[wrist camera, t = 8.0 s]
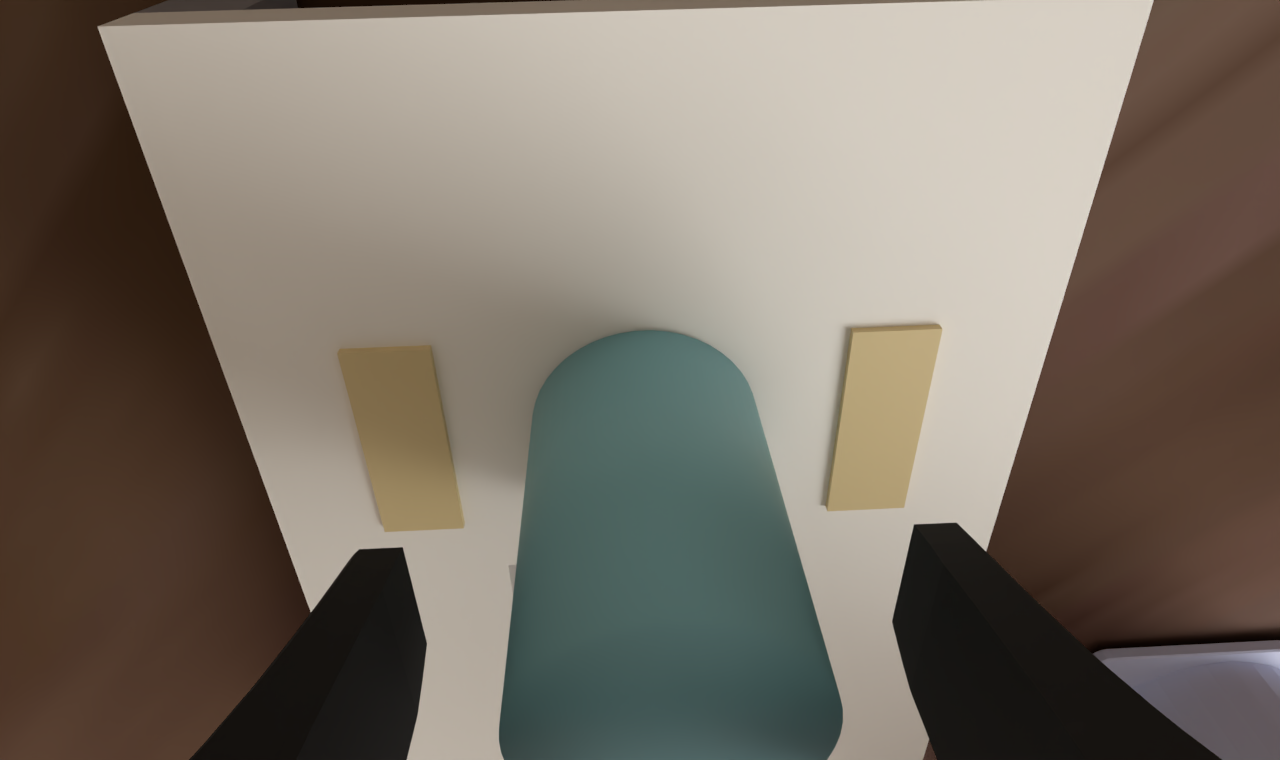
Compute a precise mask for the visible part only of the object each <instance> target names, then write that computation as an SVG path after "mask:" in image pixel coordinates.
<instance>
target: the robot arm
mask: <svg viewBox="0 0 1280 760" xmlns="http://www.w3.org/2000/svg"><path fill="white" fill-rule="evenodd" d="M892 624H893V628H894V632H895V636H896V640H897V644H898V648H899V651H900V655H901V659H902V663H903V666H904V670H905V674H906V677H907V681H908V684H909V688H910V691H911V694H912V696H913V699H914V702H915V704H916V707H917V709H918V712H919V714H920V717H921V720H922V722H923V725H924V727H925V730H926V732H927V735H928V737H929V740H930V742H931V745H932V747H933V750H934V752H935V755H936V757H937V760H1280V640H1268V641H1249V642H1230V643H1211V644H1191V645H1172V646H1153V647H1133V648H1114V649H1103V650H1099V651H1097V652H1095V653H1093V654H1092V653H1091V652H1090V651H1089V650H1088V649H1087V648H1086V647H1084V646H1083V645H1082V644H1081V643H1080V642H1079V641H1078V640H1077V639H1076V638H1075V637H1074V636H1073V635H1072V634H1070V633H1069V632H1068V631H1067V630H1066V629H1065V628H1064V627H1063V626H1062V625H1061V624H1060V623H1059V622H1058V621H1057V620H1055V619H1054V618H1053V617H1052V616H1051V615H1050V614H1049V613H1048V612H1047V611H1046V610H1045V609H1044V608H1043V607H1042V606H1041V605H1040V604H1039V603H1038V602H1037V601H1036V600H1035V599H1033V598H1032V597H1031V596H1030V595H1029V594H1028V593H1027V592H1026V591H1025V590H1024V589H1023V588H1022V587H1021V586H1020V585H1019V584H1018V583H1017V582H1016V581H1015V580H1014V579H1013V578H1012V577H1011V576H1010V575H1009V574H1008V573H1007V572H1006V571H1005V570H1004V569H1003V568H1002V567H1001V566H1000V565H999V564H998V563H997V562H996V561H995V560H994V559H993V558H992V557H991V556H990V555H989V554H988V553H987V552H986V551H985V550H984V549H983V548H982V547H981V546H980V545H979V544H978V543H977V542H976V541H975V540H974V539H973V538H972V537H971V536H970V535H969V534H968V533H967V532H966V531H965V530H964V529H963V528H962V527H961V526H960V525H959V524H958V523H935V524H914V526H913V531H912V535H911V540H910V544H909V548H908V553H907V557H906V562H905V566H904V570H903V575H902V579H901V584H900V588H899V593H898V597H897V601H896V606H895V610H894V615H893V619H892ZM426 648H427V641H426V637H425V633H424V630H423V626H422V622H421V618H420V614H419V610H418V606H417V602H416V598H415V594H414V590H413V586H412V582H411V578H410V574H409V570H408V566H407V562H406V558H405V554H404V550H403V547H397V548H375V549H359V550H358V551H357V552H356V553H355V554H354V555H353V556H352V557H351V558H350V560H349V561H348V563H347V564H346V565H345V567H344V568H343V569H342V571H341V572H340V574H339V575H338V576H337V578H336V579H335V580H334V582H333V583H332V585H331V586H330V587H329V589H328V590H327V592H326V593H325V594H324V596H323V597H322V598H321V600H320V601H319V602H318V604H317V605H316V606H315V608H314V609H313V610H312V612H311V613H310V614H309V616H308V617H307V618H306V620H305V621H304V622H303V624H302V625H301V626H300V628H299V629H298V630H297V632H296V633H295V634H294V636H293V637H292V638H291V639H290V641H289V642H288V643H287V645H286V646H285V647H284V648H283V650H282V651H281V652H280V653H279V655H278V656H277V657H276V658H275V660H274V661H273V662H272V663H271V665H270V666H269V667H268V669H267V670H266V671H265V672H264V674H263V675H262V676H261V677H260V679H259V680H258V681H257V682H256V684H255V685H254V686H253V687H252V688H251V690H250V691H249V692H248V693H247V694H246V696H245V697H244V698H243V699H242V700H241V701H240V703H239V704H238V705H237V706H236V707H235V708H234V709H233V711H232V712H231V713H230V714H229V715H228V716H227V718H226V719H225V720H224V721H223V722H222V723H221V725H220V726H219V727H218V728H217V729H216V730H215V731H214V733H213V734H212V735H211V736H210V737H209V738H208V740H207V741H206V742H205V743H204V744H203V745H202V746H201V747H200V749H199V750H198V751H197V752H196V753H195V754H194V755H193V756H192V757H191V758H190V759H189V760H407V756H408V752H409V748H410V744H411V740H412V736H413V732H414V728H415V724H416V720H417V715H418V709H419V702H420V695H421V688H422V681H423V673H424V665H425V656H426Z"/></svg>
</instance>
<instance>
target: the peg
mask: <svg viewBox="0 0 1280 760" xmlns="http://www.w3.org/2000/svg"><path fill="white" fill-rule="evenodd" d="M842 724H843V707H842V703H841V698H840V694H839V691H838V687H837V684H836V681H835V677H834V674H833V670H832V667H831V663H830V660H829V656H828V653H827V649H826V646H825V642H824V639H823V635H822V632H821V628H820V625H819V622H818V618H817V615H816V611H815V608H814V604H813V601H812V597H811V594H810V590H809V587H808V583H807V580H806V576H805V573H804V570H803V566H802V563H801V559H800V556H799V552H798V549H797V545H796V542H795V538H794V535H793V531H792V528H791V524H790V521H789V517H788V514H787V511H786V507H785V504H784V500H783V497H782V493H781V490H780V486H779V483H778V479H777V476H776V472H775V469H774V465H773V462H772V458H771V455H770V452H769V448H768V445H767V441H766V438H765V434H764V431H763V427H762V424H761V420H760V417H759V413H758V410H757V406H756V403H755V399H754V396H753V393H752V391H751V388H750V386H749V384H748V382H747V380H746V379H745V377H744V375H743V374H742V372H741V371H740V370H739V369H738V368H737V366H736V365H735V364H734V363H733V362H732V361H731V360H730V359H729V358H727V357H726V356H725V355H724V354H723V353H721V352H720V351H718V350H717V349H715V348H713V347H712V346H710V345H708V344H706V343H704V342H702V341H700V340H698V339H695V338H692V337H689V336H686V335H683V334H678V333H672V332H667V331H655V330H645V331H631V332H625V333H619V334H615V335H611V336H608V337H604V338H602V339H599V340H597V341H594V342H592V343H590V344H588V345H586V346H584V347H582V348H580V349H579V350H577V351H575V352H574V353H573V354H571V355H570V356H569V357H567V358H566V359H565V360H564V361H562V362H561V363H560V364H559V365H558V366H557V367H556V368H555V369H554V370H553V372H552V373H551V374H550V375H549V377H548V378H547V379H546V381H545V383H544V384H543V386H542V388H541V389H540V391H539V394H538V397H537V399H536V402H535V406H534V410H533V415H532V425H531V434H530V443H529V452H528V462H527V471H526V480H525V490H524V499H523V508H522V518H521V527H520V536H519V546H518V555H517V564H516V574H515V583H514V592H513V601H512V611H511V620H510V629H509V639H508V648H507V657H506V667H505V676H504V685H503V695H502V704H501V713H500V723H499V744H500V749H501V754H502V756H503V758H504V760H827V759H828V758H829V756H830V755H831V753H832V751H833V750H834V748H835V746H836V744H837V742H838V739H839V737H840V734H841V729H842Z"/></svg>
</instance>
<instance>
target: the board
mask: <svg viewBox="0 0 1280 760" xmlns="http://www.w3.org/2000/svg"><path fill="white" fill-rule="evenodd" d="M1153 1H1154V0H565V1H530V2H496V3H461V4H427V5H393V6H358V7H324V8H298V5H297V1H296V0H168V1H165V2H162V3H160V4H157V5H154V6H151V7H149V8H146V9H143V10H141V11H138V12H135V13H133V14H130V15H127V16H124V17H122V18H119V19H116V20H114V21H111V22H108V23H106V24H103V25H100V26H97V27H98V30H99V33H100V35H101V38H102V41H103V44H104V46H105V49H106V52H107V55H108V57H109V60H110V63H111V66H112V68H113V71H114V74H115V77H116V79H117V82H118V85H119V87H120V90H121V93H122V96H123V98H124V101H125V104H126V107H127V109H128V112H129V115H130V118H131V120H132V123H133V126H134V129H135V131H136V134H137V137H138V140H139V142H140V145H141V148H142V151H143V153H144V156H145V159H146V162H147V164H148V167H149V170H150V173H151V175H152V178H153V181H154V184H155V186H156V189H157V192H158V195H159V197H160V200H161V203H162V205H163V208H164V211H165V214H166V216H167V219H168V222H169V225H170V227H171V230H172V233H173V236H174V238H175V241H176V244H177V247H178V249H179V252H180V255H181V258H182V260H183V263H184V266H185V269H186V271H187V274H188V277H189V280H190V282H191V285H192V288H193V291H194V293H195V296H196V299H197V302H198V304H199V307H200V310H201V313H202V315H203V318H204V321H205V324H206V326H207V329H208V332H209V334H210V337H211V340H212V343H213V345H214V348H215V351H216V354H217V356H218V359H219V362H220V365H221V367H222V370H223V373H224V376H225V378H226V381H227V384H228V387H229V389H230V392H231V395H232V398H233V400H234V403H235V406H236V409H237V411H238V414H239V417H240V420H241V422H242V425H243V428H244V431H245V433H246V436H247V439H248V442H249V444H250V447H251V450H252V452H253V455H254V458H255V461H256V463H257V466H258V469H259V472H260V474H261V477H262V480H263V483H264V485H265V488H266V491H267V494H268V496H269V499H270V502H271V505H272V507H273V510H274V513H275V516H276V518H277V521H278V524H279V527H280V529H281V532H282V535H283V538H284V540H285V543H286V546H287V549H288V551H289V554H290V557H291V560H292V562H293V565H294V568H295V570H296V573H297V576H298V579H299V581H300V584H301V587H302V590H303V592H304V595H305V598H306V601H307V603H308V606H309V609H310V612H312V610H313V609H314V608H315V606H316V605H317V604H318V602H319V601H320V600H321V598H322V597H323V596H324V594H325V593H326V592H327V590H328V589H329V587H330V586H331V585H332V583H333V582H334V580H335V579H336V578H337V576H338V575H339V574H340V572H341V571H342V569H343V568H344V567H345V565H346V564H347V563H348V561H349V560H350V558H351V557H352V556H353V555H354V554H355V553H356V552H357V551H358V550H359V549H375V548H397V547H403V550H404V554H405V558H406V562H407V566H408V570H409V574H410V578H411V582H412V586H413V590H414V594H415V598H416V602H417V606H418V610H419V614H420V618H421V622H422V626H423V630H424V633H425V637H426V641H427V648H426V656H425V665H424V673H423V681H422V688H421V695H420V702H419V709H418V715H417V720H416V724H415V728H414V732H413V736H412V740H411V744H410V748H409V752H408V756H407V760H504V758H503V756H502V754H501V749H500V744H499V723H500V713H501V704H502V695H503V685H504V676H505V667H506V657H507V648H508V639H509V629H510V620H511V611H512V601H513V592H514V583H515V574H516V564H517V555H518V546H519V536H520V527H521V518H522V508H523V499H524V490H525V480H526V471H527V462H528V452H529V443H530V434H531V425H532V415H533V410H534V406H535V402H536V399H537V397H538V394H539V391H540V389H541V388H542V386H543V384H544V383H545V381H546V379H547V378H548V377H549V375H550V374H551V373H552V372H553V370H554V369H555V368H556V367H557V366H558V365H559V364H560V363H561V362H562V361H564V360H565V359H566V358H567V357H569V356H570V355H571V354H573V353H574V352H575V351H577V350H579V349H580V348H582V347H584V346H586V345H588V344H590V343H592V342H594V341H597V340H599V339H602V338H604V337H608V336H611V335H615V334H619V333H625V332H631V331H645V330H655V331H667V332H672V333H678V334H683V335H686V336H689V337H692V338H695V339H698V340H700V341H702V342H704V343H706V344H708V345H710V346H712V347H713V348H715V349H717V350H718V351H720V352H721V353H723V354H724V355H725V356H726V357H727V358H729V359H730V360H731V361H732V362H733V363H734V364H735V365H736V366H737V368H738V369H739V370H740V371H741V372H742V374H743V375H744V377H745V379H746V380H747V382H748V384H749V386H750V388H751V391H752V393H753V396H754V399H755V403H756V406H757V410H758V413H759V417H760V420H761V424H762V427H763V431H764V434H765V438H766V441H767V445H768V448H769V452H770V455H771V458H772V462H773V465H774V469H775V472H776V476H777V479H778V483H779V486H780V490H781V493H782V497H783V500H784V504H785V507H786V511H787V514H788V517H789V521H790V524H791V528H792V531H793V535H794V538H795V542H796V545H797V549H798V552H799V556H800V559H801V563H802V566H803V570H804V573H805V576H806V580H807V583H808V587H809V590H810V594H811V597H812V601H813V604H814V608H815V611H816V615H817V618H818V622H819V625H820V628H821V632H822V635H823V639H824V642H825V646H826V649H827V653H828V656H829V660H830V663H831V667H832V670H833V674H834V677H835V681H836V684H837V687H838V691H839V694H840V698H841V703H842V707H843V724H842V729H841V734H840V737H839V739H838V742H837V744H836V746H835V748H834V750H833V751H832V753H831V755H830V756H829V758H828V759H827V760H923V758H924V754H925V751H926V748H927V745H928V741H929V737H928V735H927V732H926V730H925V727H924V725H923V722H922V720H921V717H920V714H919V712H918V709H917V707H916V704H915V702H914V699H913V696H912V694H911V691H910V688H909V684H908V681H907V677H906V674H905V670H904V666H903V663H902V659H901V655H900V651H899V648H898V644H897V640H896V636H895V632H894V628H893V624H892V619H893V615H894V610H895V606H896V601H897V597H898V593H899V588H900V584H901V579H902V575H903V570H904V566H905V562H906V557H907V553H908V548H909V544H910V540H911V535H912V531H913V526H914V524H935V523H958V524H959V525H960V526H961V527H962V528H963V529H964V530H965V531H966V532H967V533H968V534H969V535H970V536H971V537H972V538H973V539H974V540H975V541H976V542H977V543H978V544H979V545H980V546H981V547H982V548H983V549H984V550H985V551H986V550H987V547H988V544H989V541H990V537H991V534H992V531H993V527H994V524H995V521H996V518H997V514H998V511H999V508H1000V504H1001V501H1002V498H1003V495H1004V491H1005V488H1006V485H1007V481H1008V478H1009V475H1010V471H1011V468H1012V465H1013V462H1014V458H1015V455H1016V452H1017V448H1018V445H1019V442H1020V439H1021V435H1022V432H1023V429H1024V425H1025V422H1026V419H1027V416H1028V412H1029V409H1030V406H1031V402H1032V399H1033V396H1034V393H1035V389H1036V386H1037V383H1038V379H1039V376H1040V373H1041V369H1042V366H1043V363H1044V360H1045V356H1046V353H1047V350H1048V346H1049V343H1050V340H1051V337H1052V333H1053V330H1054V327H1055V323H1056V320H1057V317H1058V314H1059V310H1060V307H1061V304H1062V300H1063V297H1064V294H1065V291H1066V287H1067V284H1068V281H1069V277H1070V274H1071V271H1072V268H1073V264H1074V261H1075V258H1076V254H1077V251H1078V248H1079V244H1080V241H1081V238H1082V235H1083V231H1084V228H1085V225H1086V221H1087V218H1088V215H1089V212H1090V208H1091V205H1092V202H1093V198H1094V195H1095V192H1096V189H1097V185H1098V182H1099V179H1100V175H1101V172H1102V169H1103V166H1104V162H1105V159H1106V156H1107V152H1108V149H1109V146H1110V142H1111V139H1112V136H1113V133H1114V129H1115V126H1116V123H1117V119H1118V116H1119V113H1120V110H1121V106H1122V103H1123V100H1124V96H1125V93H1126V90H1127V87H1128V83H1129V80H1130V77H1131V73H1132V70H1133V67H1134V64H1135V60H1136V57H1137V54H1138V50H1139V47H1140V44H1141V40H1142V37H1143V34H1144V31H1145V27H1146V24H1147V21H1148V17H1149V14H1150V11H1151V8H1152V4H1153Z"/></svg>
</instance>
